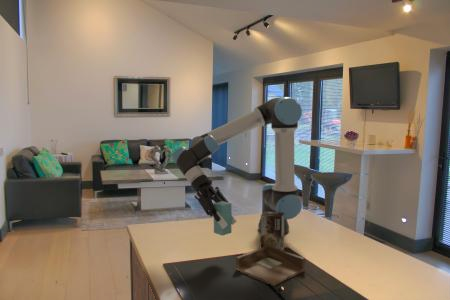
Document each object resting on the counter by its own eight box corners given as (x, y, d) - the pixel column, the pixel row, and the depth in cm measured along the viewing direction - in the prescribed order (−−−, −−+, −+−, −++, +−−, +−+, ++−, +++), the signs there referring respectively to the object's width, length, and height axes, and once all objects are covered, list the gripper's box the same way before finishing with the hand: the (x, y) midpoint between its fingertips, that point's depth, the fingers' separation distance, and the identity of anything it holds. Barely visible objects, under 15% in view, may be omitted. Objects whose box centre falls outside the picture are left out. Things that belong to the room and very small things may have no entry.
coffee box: (284, 249, 164) (285, 212, 162) (281, 254, 158) (282, 216, 156) (263, 246, 166) (264, 210, 165) (259, 251, 160) (260, 214, 159)
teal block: (222, 229, 157) (222, 201, 155) (231, 232, 153) (231, 203, 152) (213, 232, 153) (213, 203, 152) (222, 235, 150) (222, 205, 148)
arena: (267, 257, 155) (267, 245, 154) (304, 270, 142) (304, 258, 142) (235, 270, 143) (236, 257, 142) (273, 286, 130) (274, 272, 129)
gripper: (207, 181, 168) (237, 224, 160) (177, 188, 153) (210, 236, 145) (216, 170, 164) (248, 214, 156) (187, 177, 149) (221, 225, 141)
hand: (230, 224), depth 151 cm, fingers closed on teal block, 6 cm apart
